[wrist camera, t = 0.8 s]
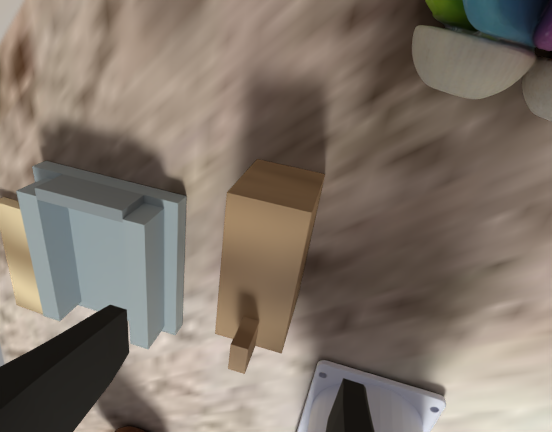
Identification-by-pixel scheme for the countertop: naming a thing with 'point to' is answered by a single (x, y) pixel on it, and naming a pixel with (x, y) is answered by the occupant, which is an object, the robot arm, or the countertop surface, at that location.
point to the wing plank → (18, 255)
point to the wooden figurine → (129, 429)
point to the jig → (106, 247)
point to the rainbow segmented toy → (488, 49)
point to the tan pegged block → (264, 256)
